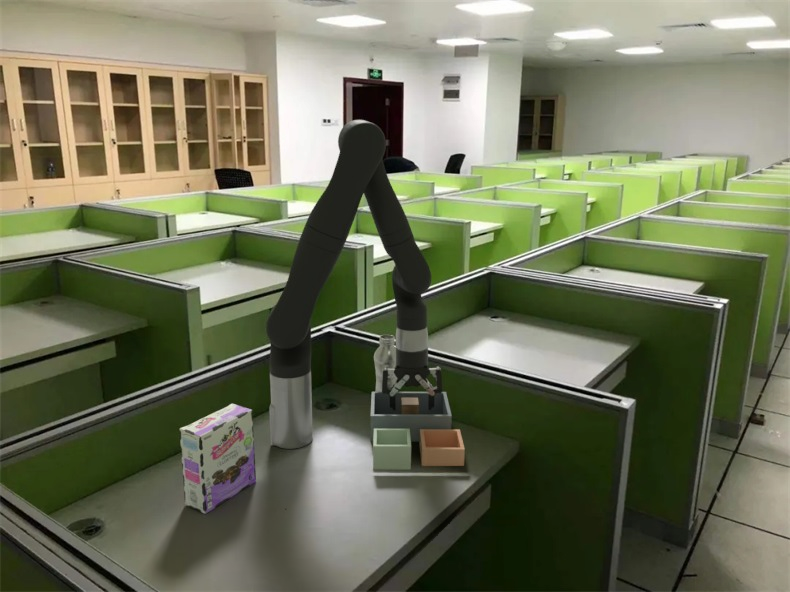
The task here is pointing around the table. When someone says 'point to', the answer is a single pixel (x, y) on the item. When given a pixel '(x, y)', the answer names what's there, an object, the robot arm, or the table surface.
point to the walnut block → (410, 406)
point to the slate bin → (395, 420)
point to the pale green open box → (391, 449)
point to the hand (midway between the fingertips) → (412, 408)
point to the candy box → (217, 457)
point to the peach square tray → (441, 447)
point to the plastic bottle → (385, 360)
